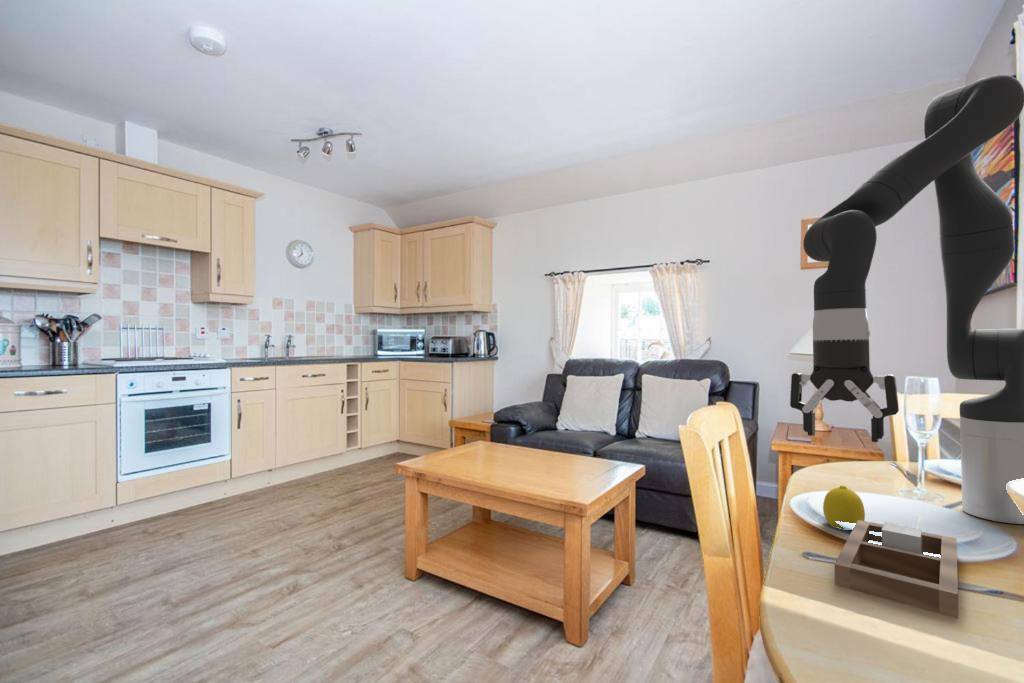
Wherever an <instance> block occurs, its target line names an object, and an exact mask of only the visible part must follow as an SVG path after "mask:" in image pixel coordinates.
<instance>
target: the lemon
mask: <svg viewBox="0 0 1024 683" xmlns="http://www.w3.org/2000/svg"><path fill="white" fill-rule="evenodd" d="M822 509H823V510H822V511H823V516H824V518H825V520H826V521H825V522H826V523H828V525H829V524H830V525H831V526H830V525H829V526H830V527H832V526H834V527H839V528H841V529H844V528H843V527H841V526H840V525H839V524H837V523H836V522H835V521H840V522H841V521H842V522H849V523H857V521H858V520H862V521H866V513H865V506H864V503H863V500H862V499H861V497H860V495H858V494H857V493H856V492H855V491H854V490H852V489H850V488H848V487H847V486H846V485H840V486H839V487H835V488H833V489H830V490H829V491H828V492H827V493H826V494H825V497H824V500H823V505H822ZM834 527H833V528H834Z"/></svg>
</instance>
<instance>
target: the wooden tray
mask: <svg viewBox="0 0 1024 683" xmlns="http://www.w3.org/2000/svg"><path fill="white" fill-rule="evenodd" d="M883 525H884V524H882V523H877V522H873V521H872V522H871V521H867V520H864V521H862V520H858V521H857V523H856V525H855V527H854V528H853V530H852V531H850V533H849V536H848V538H847V540H846V542H845V544H844V545H843V548H842V549H841V551H840V553H839V555H838V557H837V558H836V560H835V562H834V586H838V587H840V588H841V587H842V588H844V589H845V588H846V589H848V590H852V591H856V592H860V593H863V594H867V595H871V596H874V597H879V598H881V599H886V600H889V601H893V602H897V603H899V604H903V605H907V606H910V607H915V608H917V609H922V610H926V611H929V612H932V613H933V612H934V613H936V614H940V615H943V616H948V617H951V618H955V619H959V585H958V583H959V582H958V548H957V546H958V545H957V543H958V542H957V538H956V537H952V536H946V535H940V534H935V533H930V532H926V531H925V532H924V531H922V550H923V552H928V553H933V554H940V555H941V558H939V557H934V556H929V555H924V554H920V553H915V552H910V551H906V550H901V549H896V548H892V547H887V546H882V545H878V544H873V543H868V541H869V540H873V541H878V542H882V537H881V536H875V535H873V534H869V531H874V532H882V528H883Z"/></svg>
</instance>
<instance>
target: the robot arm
mask: <svg viewBox="0 0 1024 683" xmlns="http://www.w3.org/2000/svg"><path fill="white" fill-rule="evenodd" d="M1023 109H1024V87H1023V85H1022V83H1021V82H1020V81H1019V80H1018V79H1017V78H1016V77H1014V76H1012V75H1010V74H994V75H989V76H985V77H982V78H979V79H977V80H974V81H972V82H969V83H967V84H963V85H960V86H959V87H955V88H953V89H951V90H948V91H945V92H943V93H941V94H938V95H936V96H935V97H933V99H931V101H930V102H929V103H928V105H927V107H926V109H925V112H924V115H923V123H922V125H923V127H922V128H923V136H924V139H923V140H922V141H919V143H917V144H915V145H913V146H912V147H910V148H908V149H907V150H905V151H904V152H902V153H900V154H899V155H897V156H896V157H895V158H893V159H891V160H890V161H888V162H886V163H885V164H884V165H883V166H881V167H880V168H879V169H877V170H876V171H875V173H873V174H872V175H871V176H870V177H869V178H868V179H867V180H865V181H864V182H863V183H862V184H861V185H860V186H859V187H858V188H857V189H856V190H855V191H854V192H853V193H852V194H851V195H850V196H849V197H847V198H846V199H844V200H842V201H841V202H840V203H839V204H837V205H835V206H834V207H833V208H832V209H830V210H829V211H828V212H826V213H825V214H823V215H822V216H821V217H819V218H818V219H817V220H816V221H815V222H813V223H812V225H811V226H810V227H809V228H808V229H807V231H806V232H805V235H804V238H803V243H802V244H803V250H804V252H805V254H806V255H807V257H809V258H810V259H812V260H814V261H817V262H822V263H826V262H828V264H827V269H826V270H825V272H824V273H823V274H822V275H820V276H819V277H817V279H816V280H815V281H814V284H813V319H812V320H813V321H812V353H813V354H812V355H813V356H812V359H813V360H812V361H813V362H812V363H813V367H812V368H813V369H812V373H811V374H806V373H801V372H795V373H792V374H791V377H790V378H791V379H790V381H791V382H790V401H789V405H790V407H791V408H792V409H796V410H798V411H800V412H802V420H803V421H802V424H803V426H802V427H803V428H802V429H803V431H804V432H805V433H807V436H810V437H814V436H815V435H816V412H814V410H815V409H816V407H817V406H819V404H820V403H821V402H822V401H824V399H826V400H828V401H832V402H833V401H844V402H851V403H852V402H854V401H857V400H858V402H859V403H860V404H861V405H862V406H863V407H865V408H866V410H868V412H869V413H870V414H871V415H872V416H871V418H870V429H871V430H870V431H871V443H878V442H879V440H882V439H883V437H884V435H885V427H884V424H885V422H884V419H885V418H886V417H888V416H889V417H890V416H895V415H897V414H898V412H900V408H899V407H900V406H899V399H898V391H897V390H898V389H897V380H896V376H895V375H893V374H887V375H873V374H872V372H871V369H870V368H871V367H870V366H871V362H870V360H871V359H870V336H871V333H870V332H871V331H870V327H869V318H868V313H867V290H866V289H867V287H866V283H867V280H868V276H869V273H870V270H871V265H872V262H873V258H874V255H875V250H876V246H877V238H878V237H877V228H876V227H877V226H880V225H882V224H884V223H886V222H887V221H890V220H892V218H893V217H894V216H895V215H897V214H898V213H899V212H900V211H901V210H902V209H904V208H905V206H907V205H908V204H909V203H910V202H911V201H912V200H913V199H914V198H915V197H916V196H917V195H918V194H920V193H921V192H922V191H923V190H924V189H925V188H927V186H929V185H930V184H931V183H933V185H934V192H935V199H936V206H937V215H938V217H937V218H938V234H939V235H938V237H939V248H940V257H941V264H942V273H943V279H944V287H945V288H944V289H945V299H946V300H945V301H946V302H945V304H946V358H947V359H946V360H947V365H948V369H949V371H950V373H951V375H952V376H953V377H954V378H956V379H958V380H967V381H968V380H973V381H1001V382H1002V381H1004V382H1005V385H1004V387H1003V388H1002V389H1000V390H998V391H996V392H994V393H991V394H988V395H985V396H981V397H976V398H975V397H974V398H969V399H965V400H963V401H961V402H960V403H959V429H960V430H959V432H960V435H959V436H960V465H961V466H960V467H961V468H960V470H961V471H960V472H961V474H960V475H961V507H962V508H961V509H962V511H963V512H965V513H966V514H968V515H971V516H974V517H977V518H981V519H984V520H989V521H994V522H999V523H1005V524H1015V525H1024V515H1022V513H1021V512H1020V510H1019V509H1018V507H1017V506H1016V504H1015V503H1014V502H1013V500H1012V499H1011V498H1010V496H1009V495H1008V493H1007V490H1006V484H1007V483H1008V482H1009V481H1012V480H1016V479H1021V478H1024V329H1022V328H991V329H990V328H985V329H983V328H981V329H972V327H971V323H972V318H973V316H974V312H975V310H976V309H977V307H978V305H979V304H980V302H981V300H982V299H983V297H984V296H985V294H986V293H987V292H988V290H989V289H990V288H991V286H992V285H993V284H994V283H995V281H996V280H997V279H998V278H999V276H1001V274H1002V273H1003V272H1004V270H1005V269H1006V268H1007V267H1008V265H1009V263H1010V262H1011V260H1012V258H1013V256H1014V253H1015V243H1014V242H1015V240H1014V225H1013V224H1014V223H1013V215H1012V213H1011V211H1010V209H1009V208H1008V206H1007V205H1006V203H1005V202H1004V201H1003V200H1002V198H1001V197H1000V196H999V195H998V194H997V193H996V192H995V191H994V190H993V189H992V188H991V187H990V186H989V184H987V183H986V182H985V180H983V178H982V177H981V175H980V174H979V173H978V170H977V168H976V166H975V162H974V157H973V152H974V151H976V150H977V149H979V148H980V147H981V146H983V145H984V144H986V143H987V142H989V141H991V139H993V138H995V137H997V136H998V135H1000V134H1001V133H1003V132H1004V131H1005V130H1007V129H1008V128H1009V127H1011V126H1012V125H1013V124H1014V123H1015V122H1016V121H1017V120H1018V118H1019V116H1020V115H1021V113H1022V111H1023ZM809 381H810V382H811V384H812V385H813V386H814V387H815V388H816V391H815V393H814V394H813V395H812V396H811V397H810V398H809V400H808V401H807V402H803V401H802V398H803V387H805V386H807V385H808V382H809ZM874 383H875V384H877V385H878V387H879V389H881V390H885V400H886V407H880V405H879V404H878V403H877V402H876V401H875V399H874V398H873V397H872V396H871V395H870V394H869V393H868V392H867V391H868V390H869V389H870V387H871V386H873V385H874Z"/></svg>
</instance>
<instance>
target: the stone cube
mask: <svg viewBox="0 0 1024 683" xmlns="http://www.w3.org/2000/svg"><path fill="white" fill-rule="evenodd" d="M922 532H923V528H922V527H916V526H909V525H905V524H899V523H894V522H889V521H884V524H883V528H882V546H887V547H892V548H896V549H901V550H906V551H910V552H915V553H920V554H923V550H922Z"/></svg>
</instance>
